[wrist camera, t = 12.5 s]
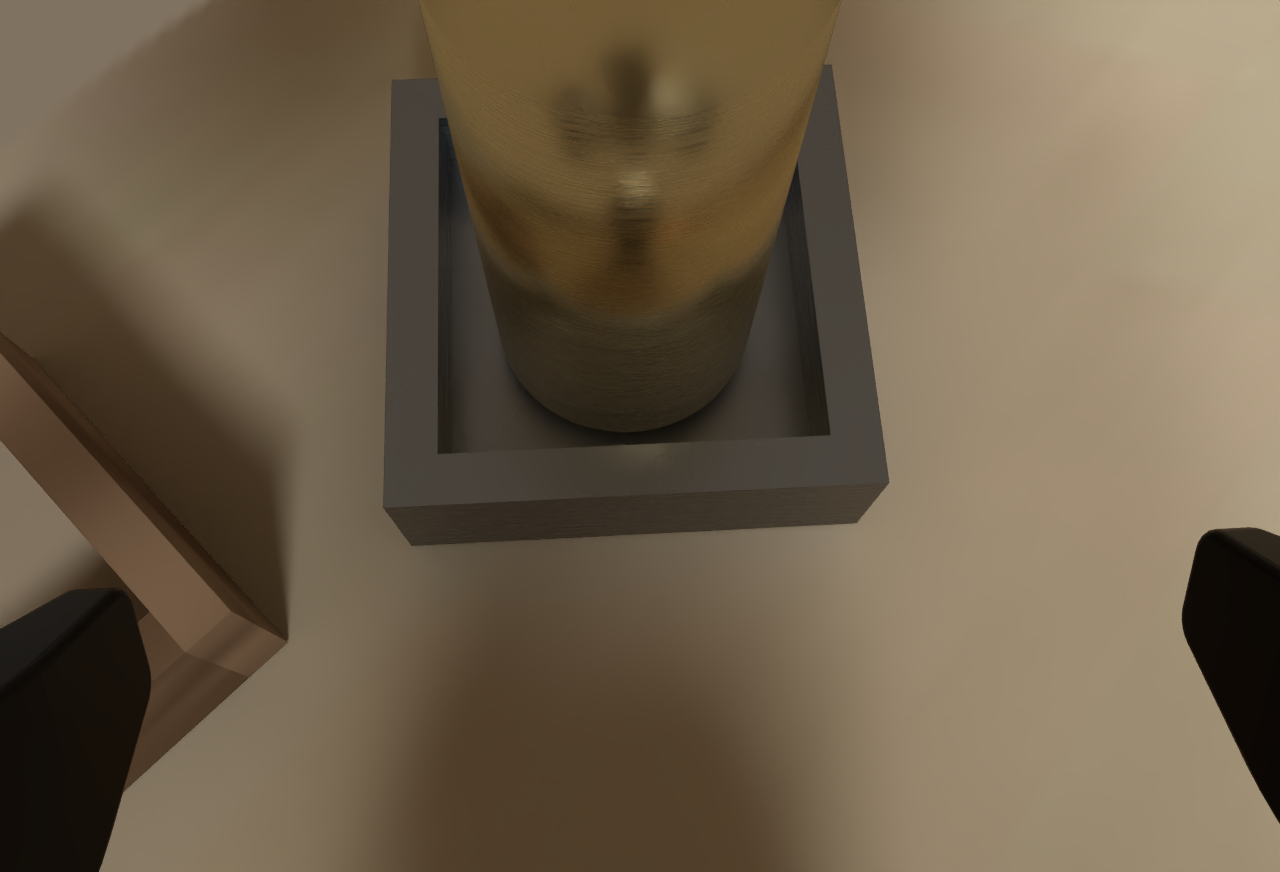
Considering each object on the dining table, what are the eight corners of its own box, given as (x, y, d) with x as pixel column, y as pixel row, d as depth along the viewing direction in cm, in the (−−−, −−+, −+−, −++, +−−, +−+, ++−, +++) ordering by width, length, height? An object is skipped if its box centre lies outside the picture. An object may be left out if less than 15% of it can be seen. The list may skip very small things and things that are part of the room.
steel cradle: (808, 145, 27) (831, 65, 24) (856, 523, 24) (889, 483, 21) (416, 159, 26) (392, 79, 23) (411, 545, 23) (383, 507, 20)
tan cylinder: (801, 317, 24) (942, -64, 14) (620, 484, 23) (624, 201, 12) (627, 160, 25) (635, -299, 15) (446, 310, 24) (316, -80, 14)
